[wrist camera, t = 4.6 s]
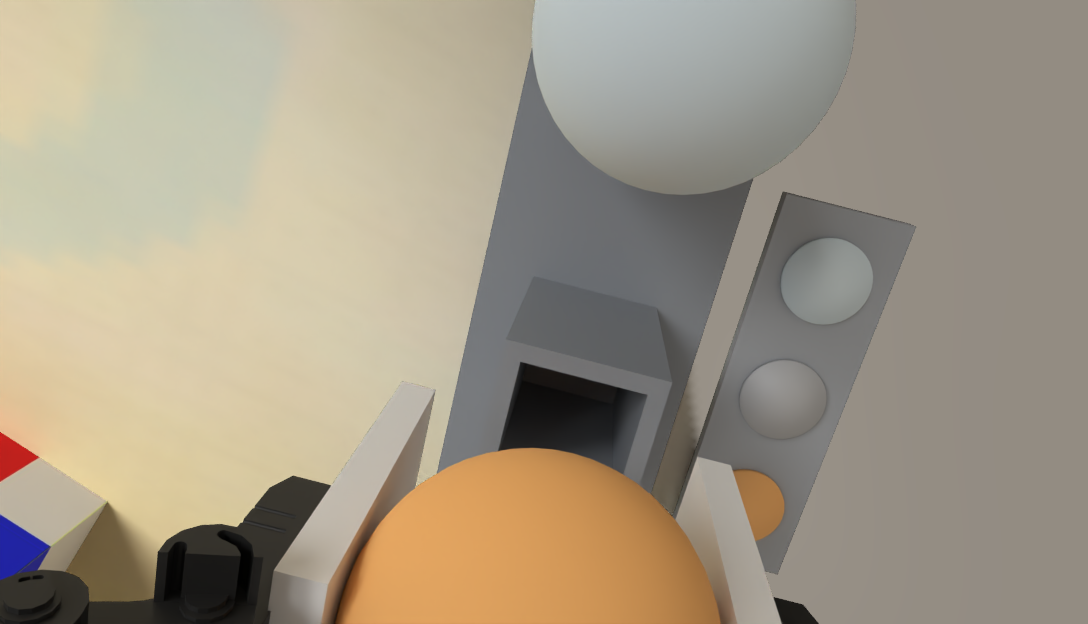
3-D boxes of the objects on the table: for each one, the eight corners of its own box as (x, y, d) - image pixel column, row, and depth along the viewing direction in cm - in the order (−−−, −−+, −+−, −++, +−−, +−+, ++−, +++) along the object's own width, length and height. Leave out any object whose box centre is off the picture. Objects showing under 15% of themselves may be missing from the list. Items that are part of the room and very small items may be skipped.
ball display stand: (576, -135, 23) (558, -252, 15) (827, -72, 23) (937, -160, 15) (403, 636, 32) (336, 809, 24) (583, 685, 31) (573, 874, 24)
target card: (783, 191, 25) (788, 194, 24) (909, 223, 25) (918, 227, 24) (666, 536, 29) (667, 548, 28) (774, 564, 29) (778, 577, 28)
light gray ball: (582, -127, 16) (564, -250, 10) (846, -61, 16) (976, -149, 10) (520, 144, 18) (476, 165, 12) (758, 205, 18) (828, 256, 12)
